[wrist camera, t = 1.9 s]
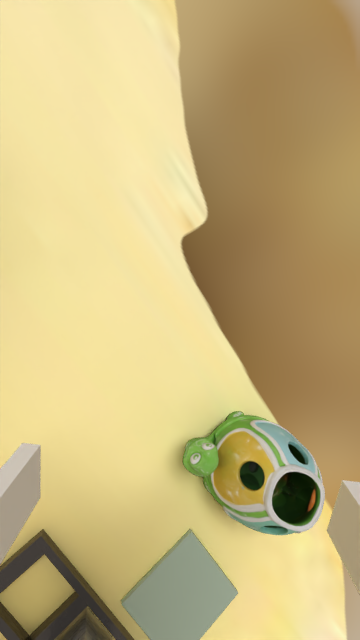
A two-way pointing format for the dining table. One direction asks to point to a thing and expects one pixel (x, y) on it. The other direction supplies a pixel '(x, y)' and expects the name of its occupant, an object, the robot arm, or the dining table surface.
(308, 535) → the dining table surface
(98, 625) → the gray rectangular brick
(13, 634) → the dark brown flat frame
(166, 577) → the mat
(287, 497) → the turtle holder
